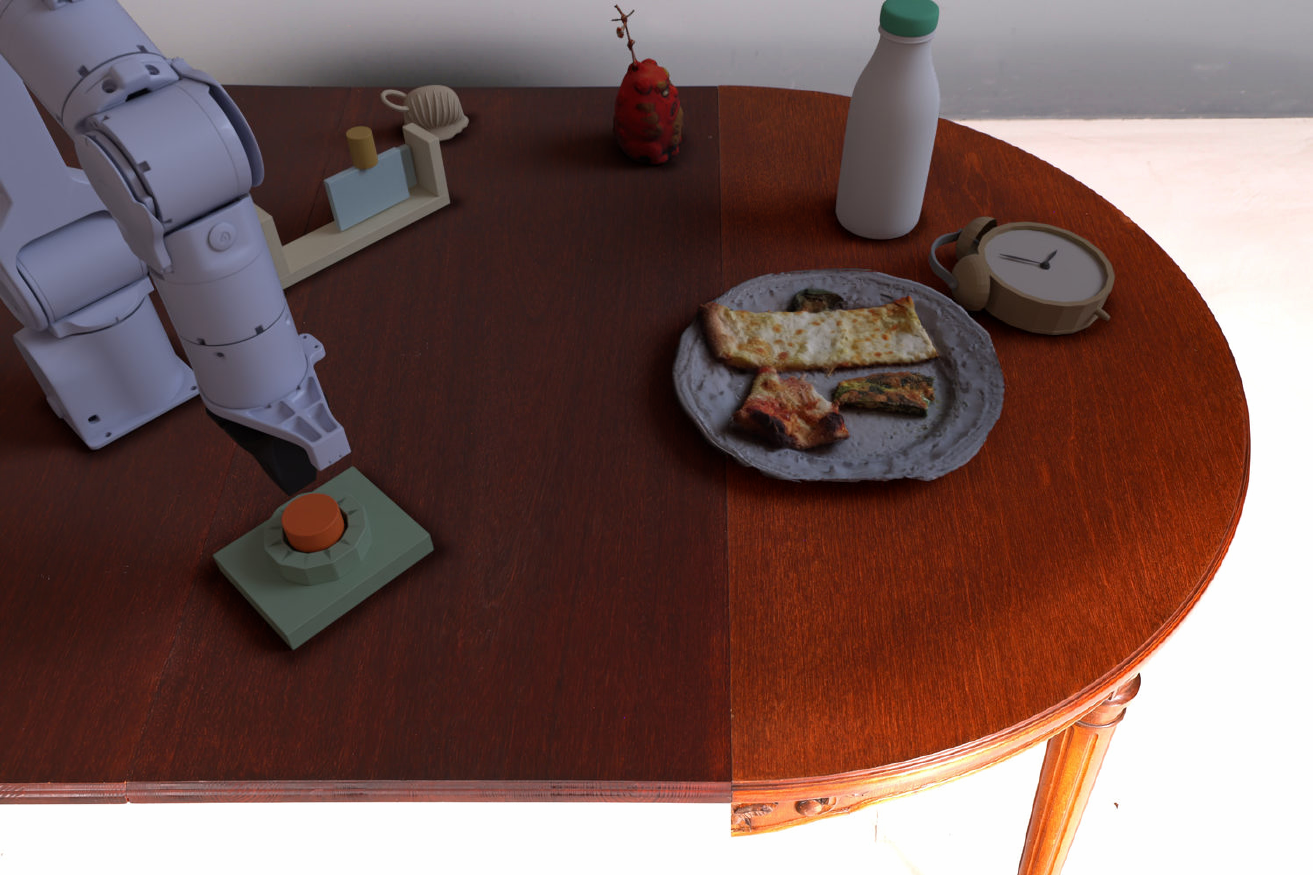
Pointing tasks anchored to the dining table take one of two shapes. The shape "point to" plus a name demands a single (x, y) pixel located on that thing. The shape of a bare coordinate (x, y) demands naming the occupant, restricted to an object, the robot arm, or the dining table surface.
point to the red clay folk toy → (646, 109)
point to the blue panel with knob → (366, 181)
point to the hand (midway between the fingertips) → (297, 482)
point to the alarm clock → (1027, 275)
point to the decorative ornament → (431, 110)
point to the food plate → (839, 377)
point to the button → (313, 522)
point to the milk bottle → (891, 126)
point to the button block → (324, 560)
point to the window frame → (335, 245)
